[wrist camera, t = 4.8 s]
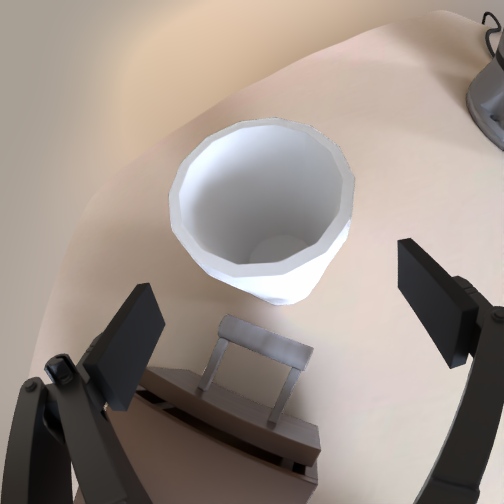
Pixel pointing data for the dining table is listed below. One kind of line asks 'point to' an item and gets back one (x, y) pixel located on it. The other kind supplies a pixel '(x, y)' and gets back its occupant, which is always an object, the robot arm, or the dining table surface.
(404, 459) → the dining table surface
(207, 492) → the cabinet
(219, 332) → the drawer
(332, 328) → the dining table surface
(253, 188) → the foam cup
